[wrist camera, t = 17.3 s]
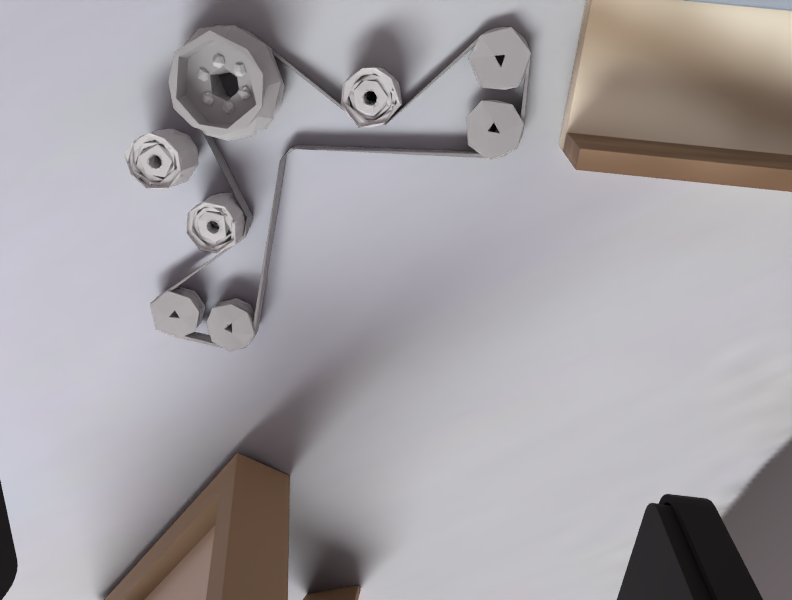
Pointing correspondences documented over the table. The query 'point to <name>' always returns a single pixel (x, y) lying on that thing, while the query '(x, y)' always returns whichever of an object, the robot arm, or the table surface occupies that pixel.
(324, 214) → the table surface
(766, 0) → the square socket plate
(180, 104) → the pulley system
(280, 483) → the photo frame
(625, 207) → the table surface
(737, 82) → the bay
